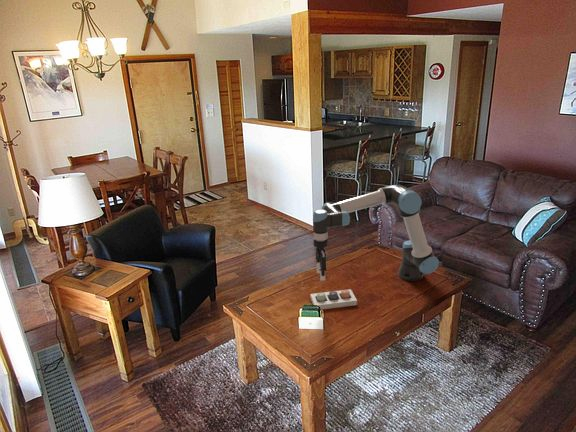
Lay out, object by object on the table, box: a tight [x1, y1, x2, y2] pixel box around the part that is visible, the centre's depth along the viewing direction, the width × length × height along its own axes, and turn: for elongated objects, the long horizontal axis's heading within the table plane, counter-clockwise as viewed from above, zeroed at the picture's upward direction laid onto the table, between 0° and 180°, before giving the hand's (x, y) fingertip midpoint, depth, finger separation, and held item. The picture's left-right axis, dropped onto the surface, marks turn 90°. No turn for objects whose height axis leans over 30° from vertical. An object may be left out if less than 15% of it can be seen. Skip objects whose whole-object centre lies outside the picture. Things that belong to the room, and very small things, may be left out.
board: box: [310, 288, 358, 310], centre depth 227 cm, size 24×12×3 cm, turn 99°
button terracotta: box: [341, 289, 350, 299], centre depth 227 cm, size 5×5×3 cm
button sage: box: [317, 292, 326, 302], centre depth 226 cm, size 5×5×3 cm
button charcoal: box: [328, 290, 338, 301], centre depth 227 cm, size 5×5×3 cm
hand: (320, 276), depth 221 cm, fingers open, 8 cm apart
